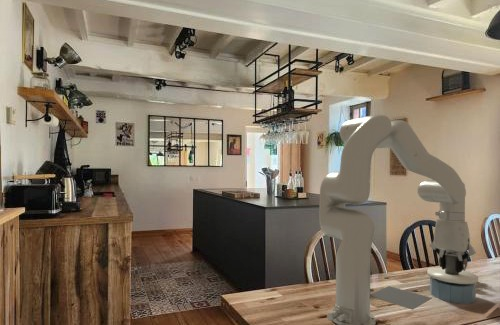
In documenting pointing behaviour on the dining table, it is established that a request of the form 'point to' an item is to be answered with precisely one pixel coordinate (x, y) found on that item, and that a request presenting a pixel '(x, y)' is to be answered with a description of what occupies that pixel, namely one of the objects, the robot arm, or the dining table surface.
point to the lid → (452, 272)
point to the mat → (400, 297)
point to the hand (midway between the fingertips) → (451, 269)
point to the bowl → (453, 291)
